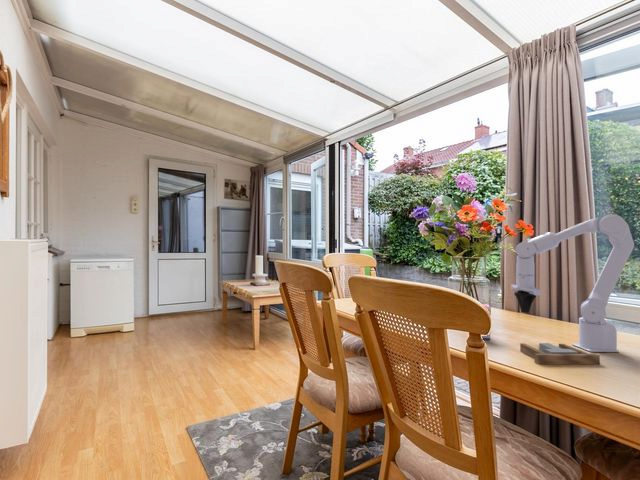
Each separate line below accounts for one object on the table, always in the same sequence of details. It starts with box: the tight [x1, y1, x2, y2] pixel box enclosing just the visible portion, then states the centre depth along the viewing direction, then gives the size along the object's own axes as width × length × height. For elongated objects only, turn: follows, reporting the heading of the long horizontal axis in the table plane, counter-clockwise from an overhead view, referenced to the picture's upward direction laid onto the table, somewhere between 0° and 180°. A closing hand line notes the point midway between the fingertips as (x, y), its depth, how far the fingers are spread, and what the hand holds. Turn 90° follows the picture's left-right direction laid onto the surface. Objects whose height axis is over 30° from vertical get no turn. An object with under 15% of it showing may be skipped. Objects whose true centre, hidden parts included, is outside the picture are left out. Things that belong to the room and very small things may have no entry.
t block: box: [538, 342, 578, 354], centre depth 104 cm, size 8×9×3 cm
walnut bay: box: [519, 342, 601, 365], centre depth 103 cm, size 18×12×2 cm, turn 91°
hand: (525, 312), depth 124 cm, fingers closed
